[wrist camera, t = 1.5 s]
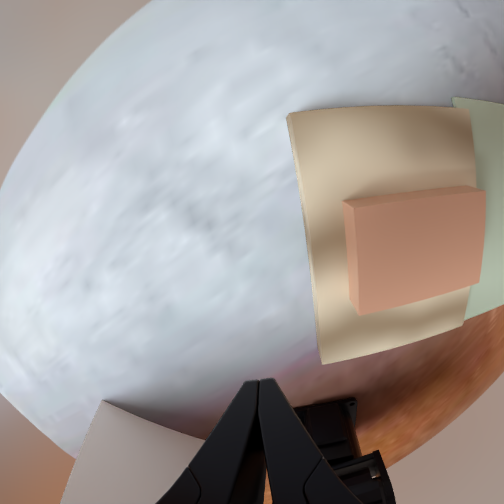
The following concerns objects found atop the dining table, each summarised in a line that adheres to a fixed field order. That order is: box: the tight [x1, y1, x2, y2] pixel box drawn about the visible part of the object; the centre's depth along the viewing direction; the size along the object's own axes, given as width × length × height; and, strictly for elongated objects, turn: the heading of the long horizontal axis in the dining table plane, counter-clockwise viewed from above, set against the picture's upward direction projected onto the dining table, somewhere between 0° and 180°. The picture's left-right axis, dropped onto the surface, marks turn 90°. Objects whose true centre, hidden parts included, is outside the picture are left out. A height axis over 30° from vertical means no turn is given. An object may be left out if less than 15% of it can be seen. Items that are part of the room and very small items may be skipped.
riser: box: [286, 105, 476, 365], centre depth 16 cm, size 16×12×2 cm
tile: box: [342, 185, 486, 316], centre depth 14 cm, size 6×9×2 cm, turn 101°
